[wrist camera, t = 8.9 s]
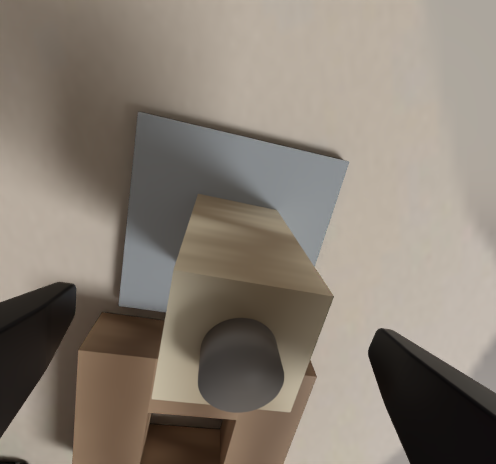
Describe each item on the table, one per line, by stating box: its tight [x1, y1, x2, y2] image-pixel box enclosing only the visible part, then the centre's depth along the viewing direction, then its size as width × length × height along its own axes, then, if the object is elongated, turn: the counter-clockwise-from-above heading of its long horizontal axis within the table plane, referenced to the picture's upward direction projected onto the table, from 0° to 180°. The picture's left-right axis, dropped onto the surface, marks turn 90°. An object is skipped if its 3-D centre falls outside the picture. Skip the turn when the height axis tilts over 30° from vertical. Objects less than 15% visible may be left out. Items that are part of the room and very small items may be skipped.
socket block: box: [72, 312, 317, 464], centre depth 18 cm, size 12×12×3 cm
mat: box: [119, 112, 349, 312], centre depth 15 cm, size 10×10×1 cm
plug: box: [152, 194, 334, 413], centre depth 11 cm, size 4×4×9 cm
